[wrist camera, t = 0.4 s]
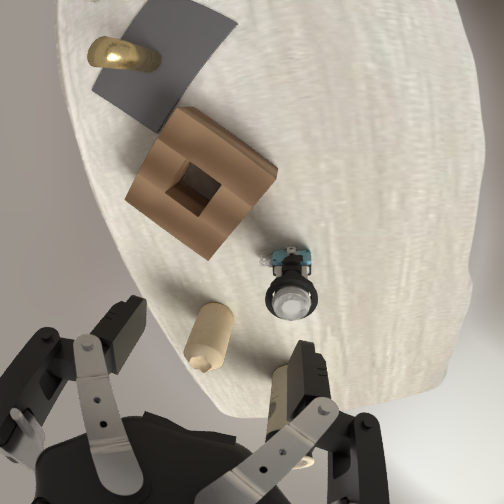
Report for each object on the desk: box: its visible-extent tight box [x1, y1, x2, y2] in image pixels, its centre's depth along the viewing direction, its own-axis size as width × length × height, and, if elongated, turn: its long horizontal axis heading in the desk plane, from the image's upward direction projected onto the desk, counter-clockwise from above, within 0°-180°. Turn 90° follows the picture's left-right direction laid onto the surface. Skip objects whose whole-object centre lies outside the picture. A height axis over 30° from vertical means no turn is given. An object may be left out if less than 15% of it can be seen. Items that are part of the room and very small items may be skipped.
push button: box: [259, 246, 318, 321], centre depth 31 cm, size 7×5×10 cm
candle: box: [184, 303, 234, 373], centre depth 38 cm, size 6×6×10 cm
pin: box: [87, 36, 162, 73], centre depth 20 cm, size 3×3×10 cm
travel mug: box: [265, 365, 315, 469], centre depth 40 cm, size 8×8×18 cm
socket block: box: [125, 107, 278, 261], centre depth 29 cm, size 12×12×5 cm
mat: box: [92, 0, 238, 133], centre depth 24 cm, size 16×12×1 cm
